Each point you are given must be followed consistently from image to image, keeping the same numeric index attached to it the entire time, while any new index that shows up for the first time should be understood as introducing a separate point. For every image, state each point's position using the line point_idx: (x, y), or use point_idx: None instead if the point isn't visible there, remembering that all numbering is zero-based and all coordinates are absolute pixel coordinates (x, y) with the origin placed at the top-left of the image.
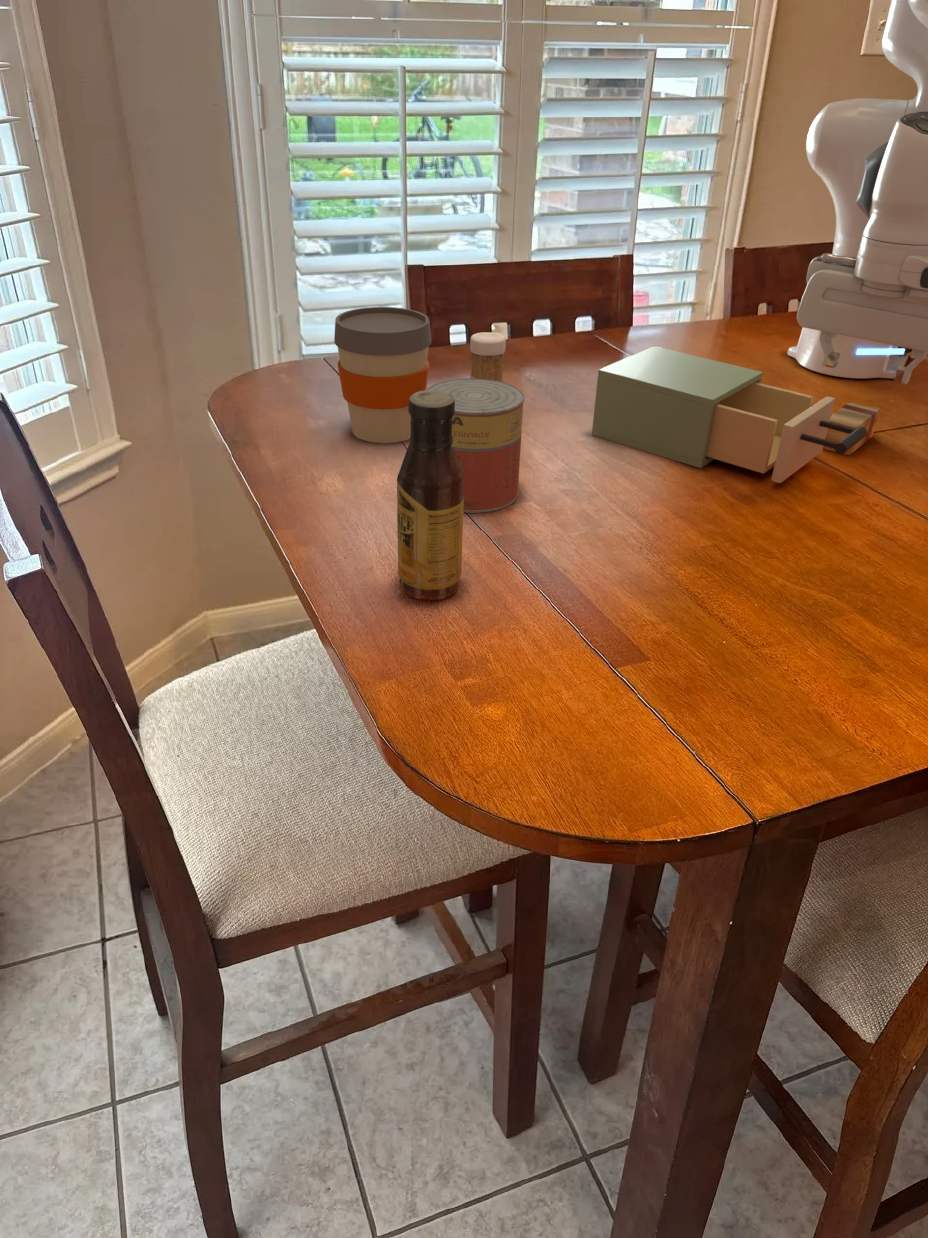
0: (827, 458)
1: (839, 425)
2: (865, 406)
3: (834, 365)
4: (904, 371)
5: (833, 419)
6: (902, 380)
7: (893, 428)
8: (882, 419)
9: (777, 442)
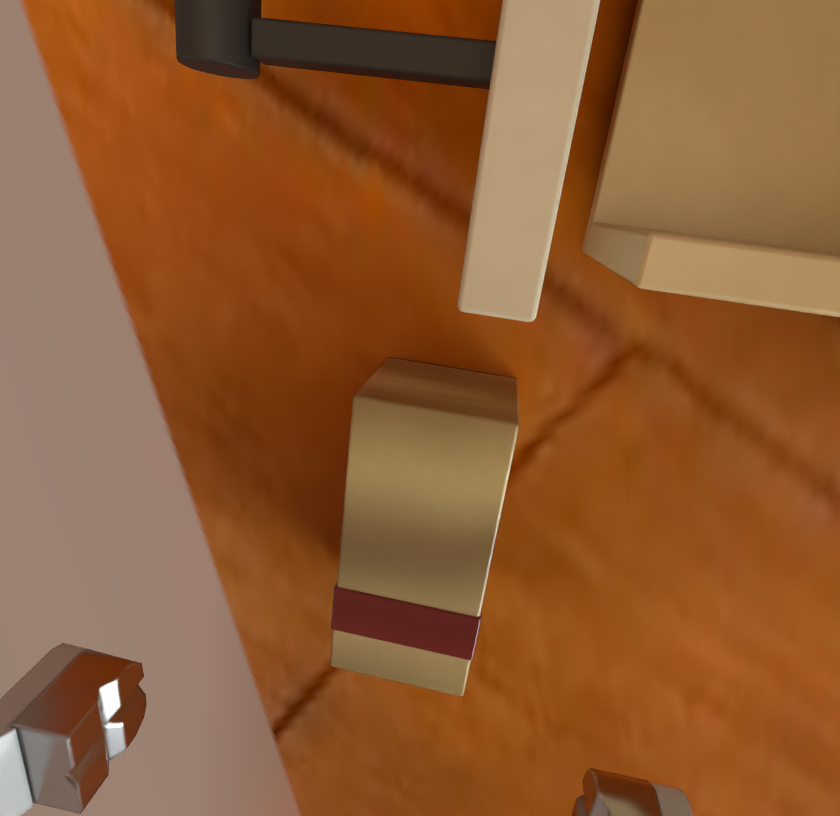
0: (457, 280)
1: (361, 54)
2: (389, 670)
3: (584, 807)
4: (12, 716)
5: (480, 446)
6: (66, 657)
7: (326, 683)
8: (377, 739)
9: (720, 126)
